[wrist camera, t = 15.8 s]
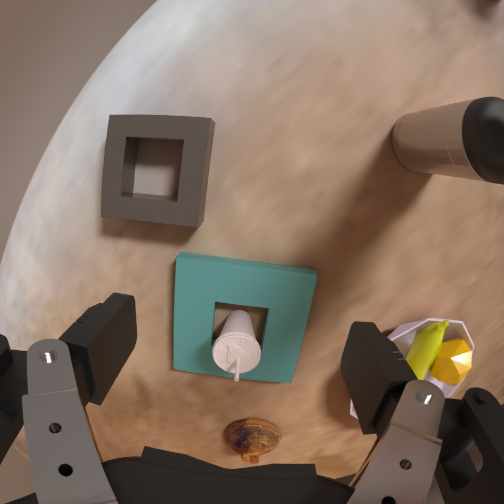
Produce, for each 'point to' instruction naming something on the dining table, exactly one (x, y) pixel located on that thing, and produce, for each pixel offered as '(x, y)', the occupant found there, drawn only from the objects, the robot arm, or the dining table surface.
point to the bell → (252, 438)
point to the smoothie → (237, 345)
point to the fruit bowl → (435, 352)
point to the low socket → (241, 293)
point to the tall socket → (124, 158)
